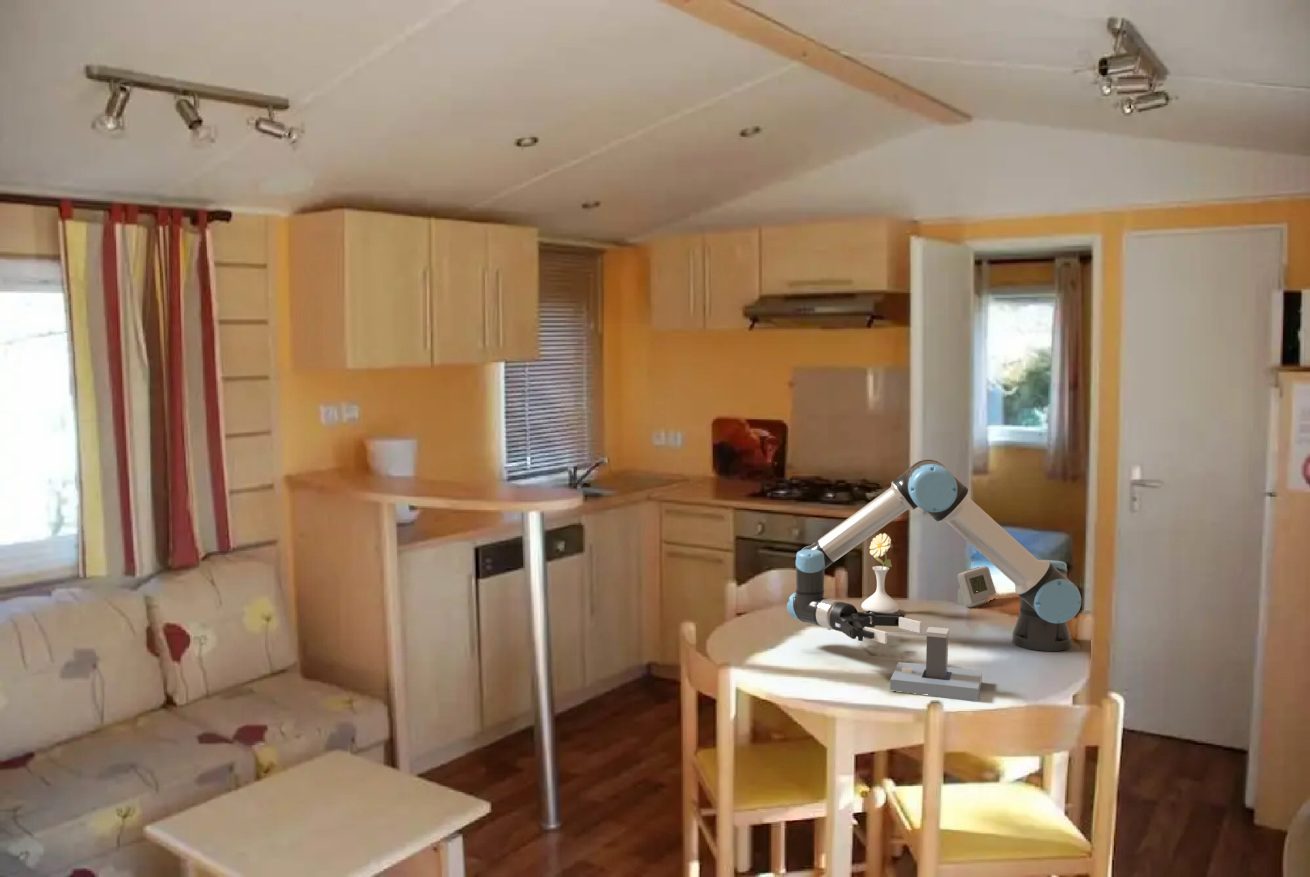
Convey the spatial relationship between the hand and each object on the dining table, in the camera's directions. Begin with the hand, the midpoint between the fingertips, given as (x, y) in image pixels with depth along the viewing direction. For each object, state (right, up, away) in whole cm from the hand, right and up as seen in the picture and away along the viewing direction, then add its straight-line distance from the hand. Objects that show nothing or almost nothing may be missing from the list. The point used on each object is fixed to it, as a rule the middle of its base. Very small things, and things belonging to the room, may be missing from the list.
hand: (903, 632), depth 264 cm
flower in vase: (+7, -5, +60) cm, 61 cm away
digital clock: (+40, -4, +72) cm, 82 cm away
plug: (+6, -12, -6) cm, 15 cm away
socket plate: (+6, -12, -6) cm, 15 cm away
